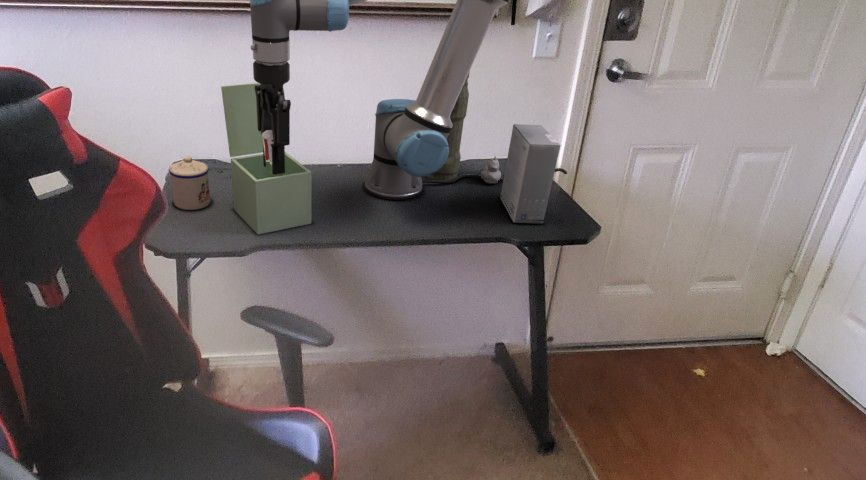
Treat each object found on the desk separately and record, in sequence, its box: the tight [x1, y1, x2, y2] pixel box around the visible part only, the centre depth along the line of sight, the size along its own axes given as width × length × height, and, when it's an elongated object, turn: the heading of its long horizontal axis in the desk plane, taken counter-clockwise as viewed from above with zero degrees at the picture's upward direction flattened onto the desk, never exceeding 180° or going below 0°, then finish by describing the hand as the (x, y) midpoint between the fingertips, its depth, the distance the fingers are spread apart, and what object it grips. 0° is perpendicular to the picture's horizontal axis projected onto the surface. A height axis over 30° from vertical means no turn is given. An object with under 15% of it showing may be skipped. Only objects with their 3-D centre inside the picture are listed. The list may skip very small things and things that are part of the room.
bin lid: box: [220, 82, 285, 158], centre depth 153 cm, size 15×14×1 cm
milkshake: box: [262, 130, 274, 173], centre depth 147 cm, size 5×5×10 cm
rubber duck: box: [480, 155, 502, 185], centre depth 181 cm, size 5×7×8 cm
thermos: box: [426, 70, 471, 180], centre depth 175 cm, size 9×12×35 cm
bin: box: [230, 151, 313, 235], centre depth 155 cm, size 15×14×13 cm
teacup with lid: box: [168, 155, 211, 211], centre depth 160 cm, size 12×9×12 cm
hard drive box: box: [499, 123, 562, 224], centre depth 163 cm, size 16×8×20 cm, turn 4°
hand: (274, 169), depth 150 cm, fingers closed on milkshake, 4 cm apart
